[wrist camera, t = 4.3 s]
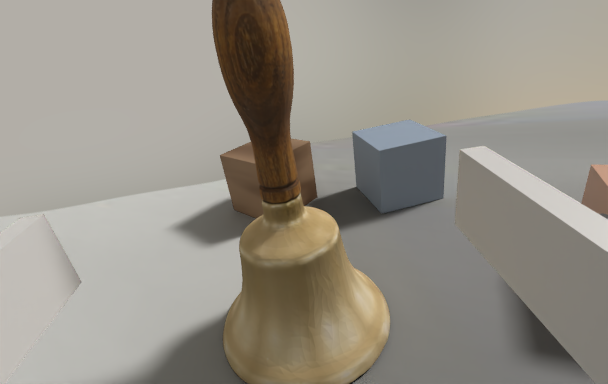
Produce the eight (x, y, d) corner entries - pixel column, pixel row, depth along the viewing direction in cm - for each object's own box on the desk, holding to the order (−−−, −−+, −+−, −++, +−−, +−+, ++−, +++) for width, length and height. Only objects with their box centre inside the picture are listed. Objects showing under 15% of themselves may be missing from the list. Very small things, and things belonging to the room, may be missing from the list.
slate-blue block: (409, 174, 30) (409, 119, 28) (443, 199, 26) (446, 135, 24) (356, 187, 30) (352, 131, 27) (381, 214, 25) (379, 150, 23)
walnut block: (276, 186, 32) (266, 134, 30) (317, 197, 29) (309, 141, 27) (234, 210, 29) (219, 155, 27) (275, 226, 26) (262, 165, 24)
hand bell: (199, 315, 19) (69, -31, 12) (319, 248, 23) (278, -42, 15) (279, 447, 12) (102, -140, 5) (427, 322, 16) (441, -111, 9)
